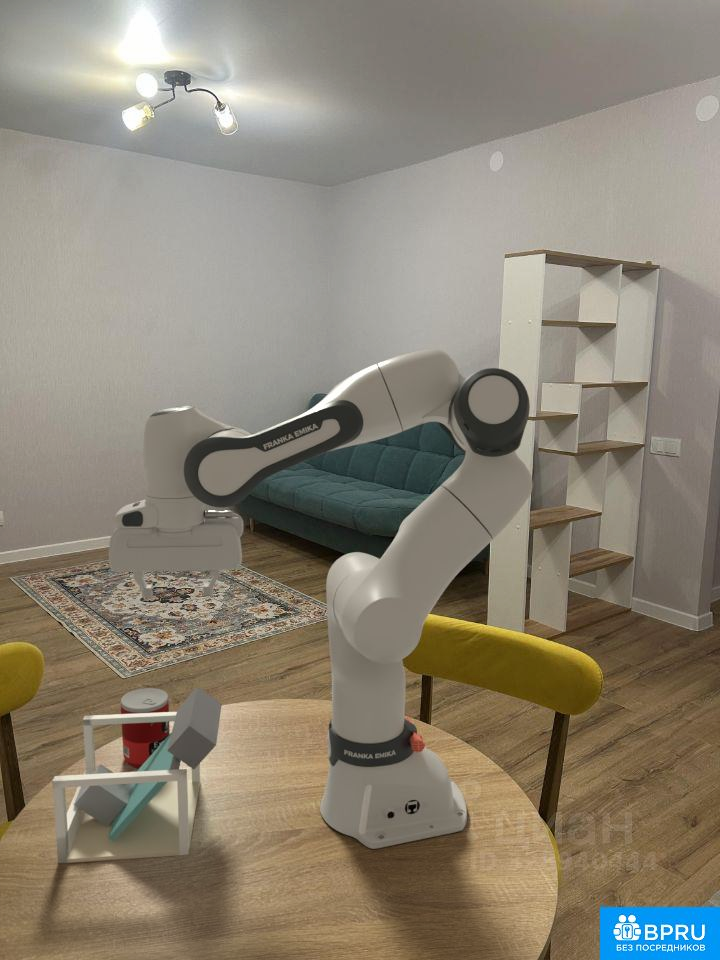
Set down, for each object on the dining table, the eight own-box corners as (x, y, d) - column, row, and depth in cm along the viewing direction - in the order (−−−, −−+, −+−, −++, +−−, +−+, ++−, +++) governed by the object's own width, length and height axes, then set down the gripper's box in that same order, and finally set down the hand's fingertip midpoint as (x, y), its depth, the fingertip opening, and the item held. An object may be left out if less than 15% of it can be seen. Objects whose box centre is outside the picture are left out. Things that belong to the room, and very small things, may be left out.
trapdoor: (222, 700, 116) (198, 683, 115) (215, 748, 103) (188, 729, 102) (140, 791, 117) (116, 775, 116) (123, 851, 104) (96, 833, 103)
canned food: (158, 772, 123) (155, 711, 121) (114, 766, 124) (111, 706, 122) (178, 747, 130) (176, 690, 128) (136, 742, 132) (134, 685, 130)
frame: (200, 781, 120) (198, 710, 118) (188, 854, 103) (185, 773, 101) (89, 787, 118) (84, 715, 116) (58, 863, 101) (52, 781, 99)
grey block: (132, 785, 112) (100, 764, 111) (127, 803, 108) (93, 781, 106) (114, 807, 112) (81, 786, 111) (107, 826, 108) (73, 805, 107)
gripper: (244, 505, 118) (245, 588, 121) (112, 507, 116) (116, 591, 118) (242, 515, 112) (243, 601, 114) (103, 516, 109) (108, 605, 112)
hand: (178, 596), depth 116 cm, fingers open, 8 cm apart
